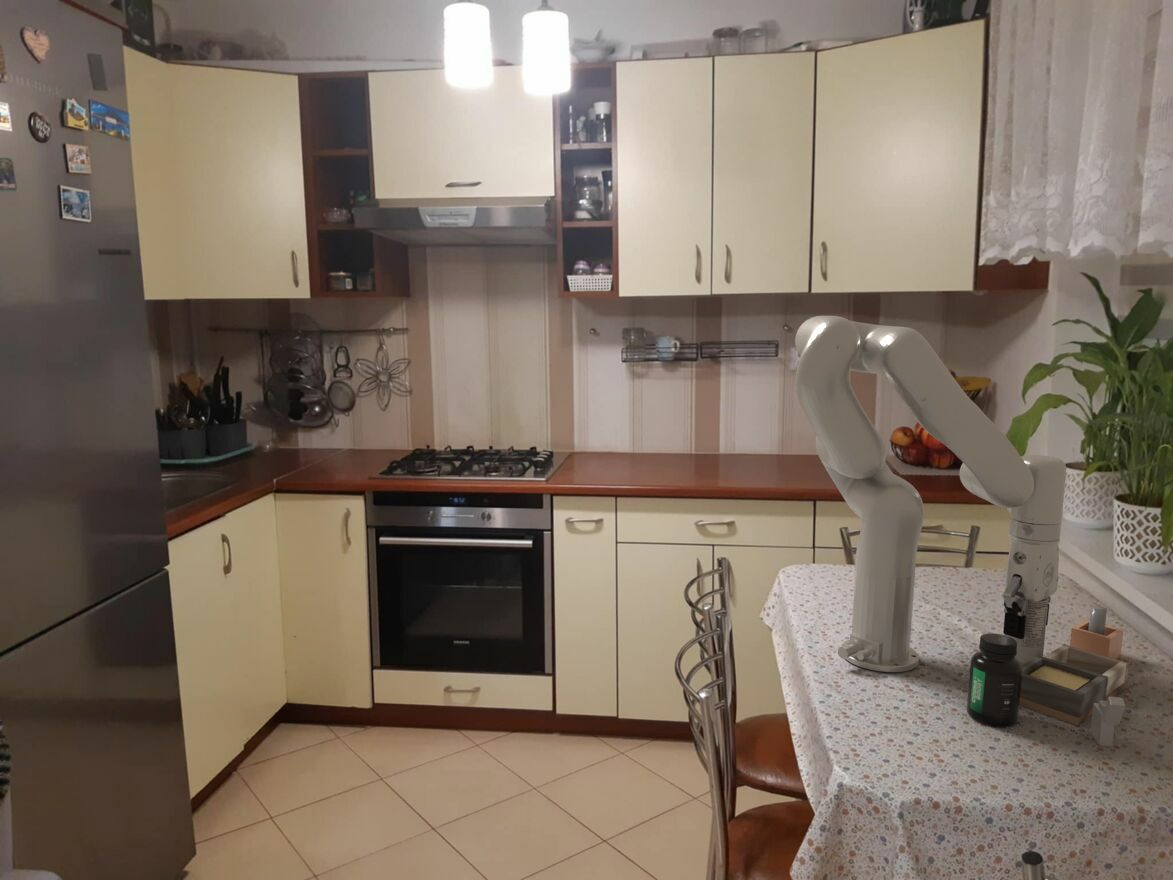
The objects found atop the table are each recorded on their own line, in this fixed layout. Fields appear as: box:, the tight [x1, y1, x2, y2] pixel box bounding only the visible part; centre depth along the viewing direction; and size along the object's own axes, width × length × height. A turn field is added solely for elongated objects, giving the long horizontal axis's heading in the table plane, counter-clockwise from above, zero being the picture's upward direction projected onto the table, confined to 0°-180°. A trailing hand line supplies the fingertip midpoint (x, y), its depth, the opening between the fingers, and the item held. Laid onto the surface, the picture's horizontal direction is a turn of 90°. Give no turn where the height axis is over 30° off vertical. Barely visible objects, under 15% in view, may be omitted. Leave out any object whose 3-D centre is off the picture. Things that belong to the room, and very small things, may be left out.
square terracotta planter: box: [1069, 605, 1124, 660], centre depth 144 cm, size 6×6×9 cm
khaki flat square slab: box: [1030, 665, 1091, 691], centre depth 127 cm, size 7×7×1 cm
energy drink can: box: [1003, 589, 1049, 665], centre depth 142 cm, size 6×6×15 cm
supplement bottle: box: [966, 632, 1023, 728], centre depth 122 cm, size 7×7×12 cm
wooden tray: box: [1019, 643, 1129, 726], centre depth 130 cm, size 20×10×4 cm, turn 130°
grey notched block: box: [1089, 696, 1126, 748], centre depth 115 cm, size 7×2×8 cm, turn 164°
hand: (1025, 629), depth 142 cm, fingers open, 8 cm apart
